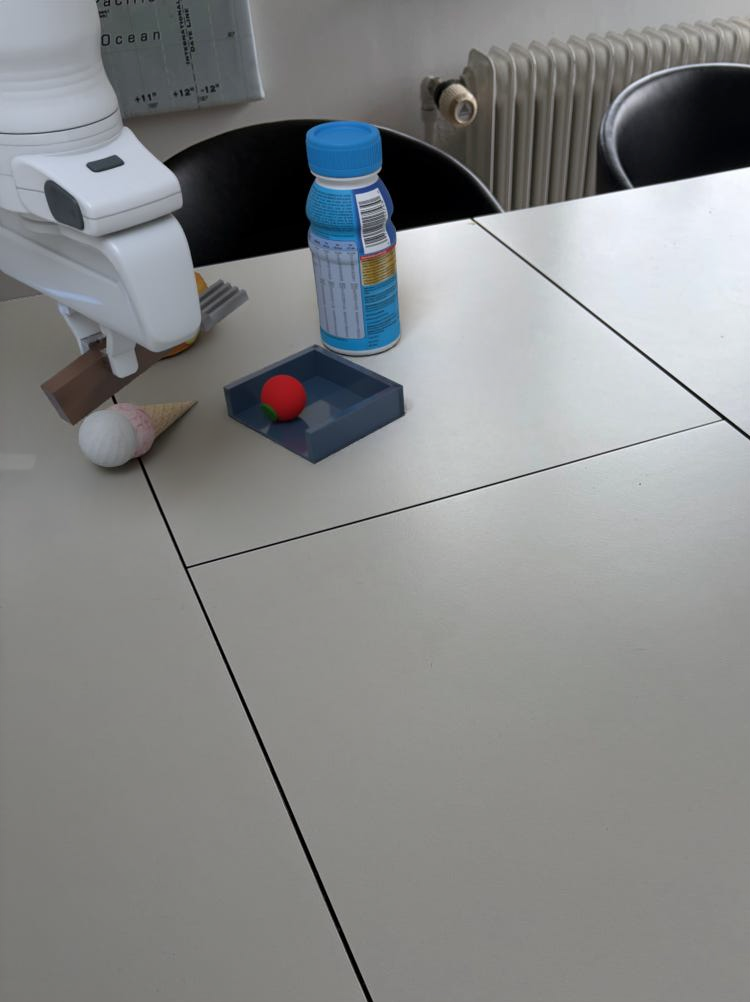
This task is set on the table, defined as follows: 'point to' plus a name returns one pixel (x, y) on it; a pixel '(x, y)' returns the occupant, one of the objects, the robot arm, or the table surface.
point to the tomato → (283, 398)
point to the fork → (94, 385)
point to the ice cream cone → (126, 430)
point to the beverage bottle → (352, 239)
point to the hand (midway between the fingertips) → (111, 365)
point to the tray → (319, 403)
